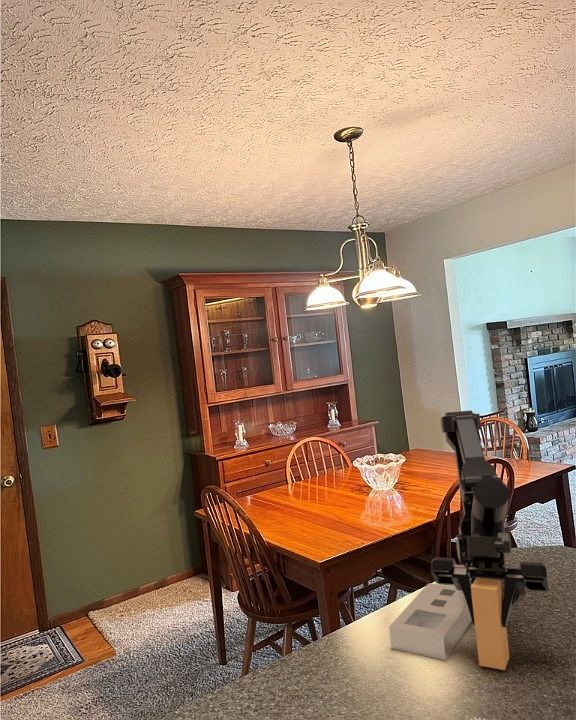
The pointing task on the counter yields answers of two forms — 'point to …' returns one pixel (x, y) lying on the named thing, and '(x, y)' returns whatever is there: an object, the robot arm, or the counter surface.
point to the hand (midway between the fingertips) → (488, 625)
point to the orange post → (489, 623)
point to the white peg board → (431, 622)
